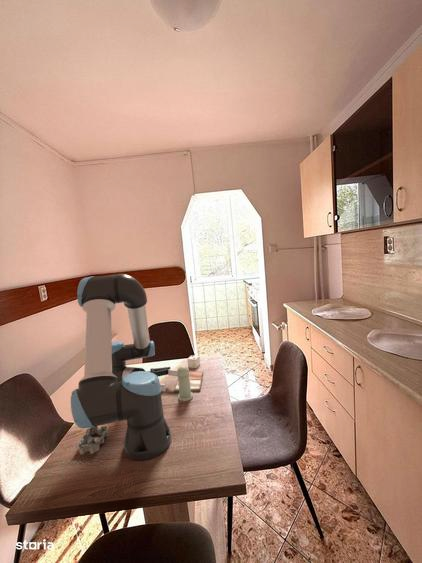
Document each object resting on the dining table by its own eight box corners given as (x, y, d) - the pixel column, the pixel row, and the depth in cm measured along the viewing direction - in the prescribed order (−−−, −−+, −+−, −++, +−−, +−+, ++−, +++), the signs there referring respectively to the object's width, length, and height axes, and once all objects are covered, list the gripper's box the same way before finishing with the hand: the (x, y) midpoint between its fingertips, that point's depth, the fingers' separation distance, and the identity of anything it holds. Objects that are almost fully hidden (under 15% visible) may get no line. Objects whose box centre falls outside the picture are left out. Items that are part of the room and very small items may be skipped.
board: (200, 391, 118) (200, 388, 117) (174, 392, 118) (173, 390, 118) (203, 373, 135) (203, 371, 135) (180, 375, 136) (180, 372, 136)
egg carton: (92, 433, 95) (91, 422, 94) (112, 433, 94) (110, 422, 94) (74, 455, 84) (72, 443, 84) (96, 455, 83) (94, 443, 83)
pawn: (184, 403, 109) (180, 370, 108) (175, 398, 114) (172, 366, 112) (196, 396, 113) (193, 365, 112) (187, 392, 118) (184, 361, 117)
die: (196, 368, 143) (195, 359, 142) (188, 367, 145) (187, 358, 144) (200, 364, 148) (199, 355, 147) (192, 363, 149) (191, 355, 149)
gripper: (150, 372, 136) (187, 375, 127) (117, 397, 113) (158, 403, 105) (149, 358, 135) (185, 361, 127) (114, 380, 112) (156, 385, 104)
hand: (173, 380), depth 116 cm, fingers open, 13 cm apart
